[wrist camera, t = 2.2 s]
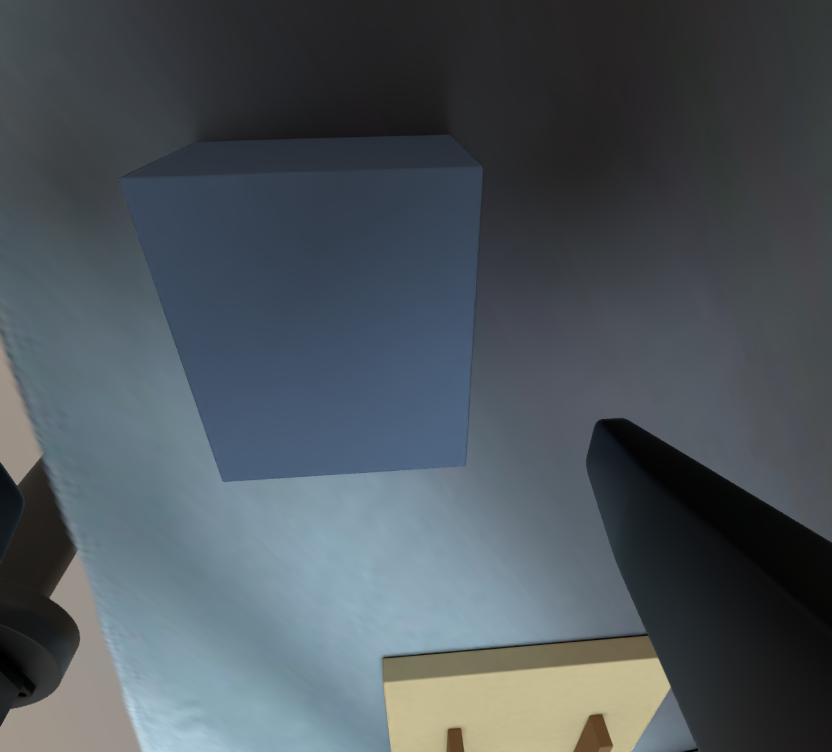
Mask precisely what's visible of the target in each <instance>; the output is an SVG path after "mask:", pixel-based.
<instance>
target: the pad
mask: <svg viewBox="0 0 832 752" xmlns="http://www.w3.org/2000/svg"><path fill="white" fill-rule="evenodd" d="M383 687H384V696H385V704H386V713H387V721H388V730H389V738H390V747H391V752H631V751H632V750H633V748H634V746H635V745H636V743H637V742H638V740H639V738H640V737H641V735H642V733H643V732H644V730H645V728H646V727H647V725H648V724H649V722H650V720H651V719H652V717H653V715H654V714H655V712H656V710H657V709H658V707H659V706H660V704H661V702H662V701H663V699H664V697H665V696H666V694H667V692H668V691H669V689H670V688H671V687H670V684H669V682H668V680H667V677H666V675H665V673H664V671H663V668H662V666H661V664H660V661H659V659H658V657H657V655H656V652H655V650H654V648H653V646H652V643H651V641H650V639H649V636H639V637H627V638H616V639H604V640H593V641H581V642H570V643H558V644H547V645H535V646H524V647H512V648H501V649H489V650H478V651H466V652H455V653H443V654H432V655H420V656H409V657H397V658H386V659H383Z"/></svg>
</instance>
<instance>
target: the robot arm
mask: <svg viewBox="0 0 832 752" xmlns="http://www.w3.org/2000/svg"><path fill="white" fill-rule="evenodd" d="M586 467H587V472H588V476H589V479H590V482H591V485H592V488H593V492H594V495H595V498H596V501H597V504H598V508H599V511H600V514H601V517H602V520H603V523H604V527H605V530H606V533H607V536H608V539H609V543H610V546H611V549H612V552H613V554H614V557H615V560H616V563H617V565H618V568H619V570H620V572H621V575H622V577H623V580H624V582H625V584H626V586H627V589H628V591H629V593H630V595H631V598H632V600H633V602H634V605H635V607H636V609H637V611H638V614H639V616H640V618H641V621H642V623H643V625H644V627H645V630H646V632H647V634H648V636H649V639H650V641H651V643H652V646H653V648H654V650H655V652H656V655H657V657H658V659H659V661H660V664H661V666H662V668H663V671H664V673H665V675H666V677H667V680H668V682H669V684H670V687H671V689H672V691H673V693H674V696H675V698H676V700H677V702H678V705H679V707H680V709H681V712H682V714H683V716H684V718H685V721H686V723H687V725H688V728H689V730H690V732H691V734H692V737H693V739H694V741H695V743H696V746H697V748H698V750H699V752H832V543H831V542H830V541H828V540H827V539H825V538H823V537H822V536H820V535H818V534H817V533H815V532H813V531H812V530H810V529H808V528H807V527H805V526H803V525H802V524H800V523H798V522H797V521H795V520H793V519H792V518H790V517H788V516H787V515H785V514H783V513H782V512H780V511H778V510H777V509H775V508H773V507H772V506H770V505H768V504H767V503H765V502H763V501H762V500H760V499H758V498H757V497H755V496H753V495H752V494H750V493H748V492H747V491H745V490H744V489H742V488H740V487H739V486H737V485H735V484H734V483H732V482H730V481H729V480H727V479H725V478H724V477H722V476H720V475H719V474H717V473H715V472H714V471H712V470H710V469H709V468H707V467H705V466H704V465H702V464H700V463H699V462H697V461H695V460H694V459H692V458H690V457H689V456H687V455H685V454H684V453H682V452H680V451H679V450H677V449H675V448H674V447H672V446H670V445H669V444H667V443H665V442H664V441H662V440H661V439H659V438H657V437H656V436H654V435H652V434H651V433H649V432H647V431H646V430H644V429H642V428H641V427H639V426H637V425H636V424H634V423H632V422H631V421H629V420H627V419H624V418H612V419H601V420H599V421H598V422H597V423H596V424H595V427H594V430H593V434H592V438H591V442H590V446H589V450H588V454H587V459H586ZM23 510H24V497H23V494H22V493H21V491H20V490H19V488H18V487H17V485H16V484H15V482H14V481H13V479H12V478H11V477H10V475H9V474H8V472H7V471H6V469H5V468H4V466H3V465H2V464H1V463H0V565H1V563H2V560H3V558H4V556H5V553H6V551H7V549H8V546H9V544H10V541H11V539H12V537H13V534H14V532H15V530H16V527H17V525H18V522H19V520H20V518H21V515H22V513H23ZM35 690H36V685H35V684H34V683H33V682H32V681H31V680H30V679H29V678H28V677H27V676H26V675H25V674H24V673H23V672H22V671H21V670H20V669H19V668H18V667H17V666H16V665H15V664H14V663H13V662H12V661H11V660H10V659H9V658H8V657H7V656H6V655H5V654H4V653H3V652H2V651H1V650H0V726H1V724H2V723H3V721H4V719H5V717H6V715H7V714H8V712H9V710H10V708H11V707H12V705H13V703H14V701H15V700H18V699H28V698H31V697H32V695H33V693H34V691H35Z"/></svg>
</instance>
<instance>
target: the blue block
mask: <svg viewBox="0 0 832 752" xmlns="http://www.w3.org/2000/svg"><path fill="white" fill-rule="evenodd" d="M119 182H120V185H121V188H122V191H123V194H124V197H125V200H126V202H127V205H128V208H129V211H130V214H131V217H132V220H133V223H134V226H135V229H136V231H137V234H138V237H139V240H140V243H141V246H142V249H143V252H144V255H145V258H146V260H147V263H148V266H149V269H150V272H151V275H152V278H153V281H154V284H155V287H156V289H157V292H158V295H159V298H160V301H161V304H162V307H163V310H164V313H165V316H166V318H167V321H168V324H169V327H170V330H171V333H172V336H173V339H174V342H175V345H176V347H177V350H178V353H179V356H180V359H181V362H182V365H183V368H184V371H185V374H186V376H187V379H188V382H189V385H190V388H191V391H192V394H193V397H194V400H195V403H196V405H197V408H198V411H199V414H200V417H201V420H202V423H203V426H204V429H205V432H206V434H207V437H208V440H209V443H210V446H211V449H212V452H213V455H214V458H215V461H216V463H217V466H218V469H219V472H220V475H221V478H222V481H223V482H230V481H245V480H260V479H275V478H291V477H306V476H321V475H336V474H351V473H367V472H382V471H397V470H412V469H427V468H442V467H458V466H465V465H466V454H467V437H468V420H469V403H470V386H471V369H472V352H473V335H474V318H475V301H476V284H477V267H478V250H479V233H480V216H481V199H482V182H483V167H482V166H481V165H480V164H479V163H478V162H477V161H476V160H475V159H474V158H473V157H472V156H471V155H470V154H469V153H468V152H467V151H466V150H465V149H464V148H463V147H462V146H461V145H460V144H459V143H458V142H457V141H456V140H455V139H454V138H453V137H452V136H451V135H415V136H380V137H344V138H309V139H274V140H238V141H203V142H194V143H192V144H190V145H188V146H186V147H183V148H181V149H179V150H177V151H175V152H173V153H171V154H169V155H167V156H165V157H163V158H160V159H158V160H156V161H154V162H152V163H150V164H148V165H146V166H144V167H142V168H140V169H138V170H135V171H133V172H131V173H129V174H127V175H125V176H123V177H121V178H119Z"/></svg>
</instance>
